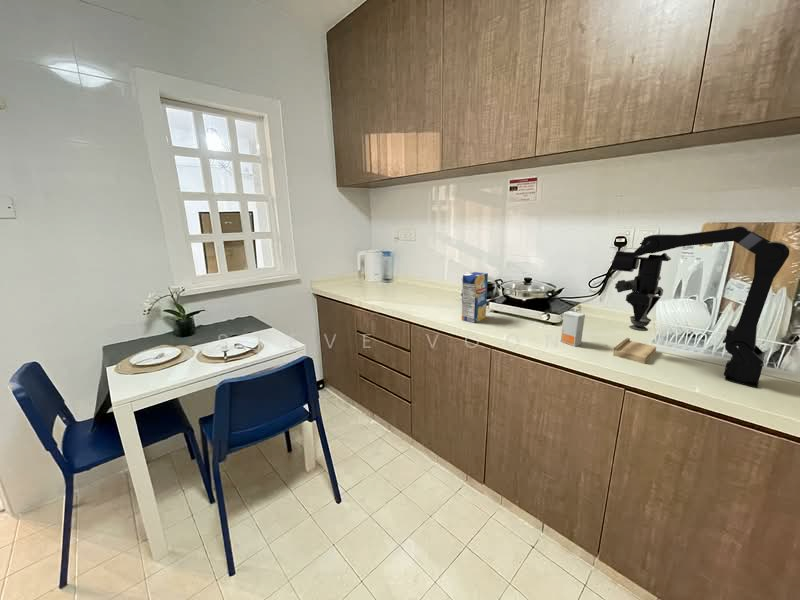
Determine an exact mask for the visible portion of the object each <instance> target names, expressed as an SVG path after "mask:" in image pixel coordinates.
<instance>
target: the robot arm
mask: <svg viewBox="0 0 800 600" xmlns="http://www.w3.org/2000/svg"><path fill="white" fill-rule="evenodd" d="M729 242H734V243H736V244H737V245H739V246H741V247H743V248H744V249H745V250H747V251H749V252H751V253H752V254H754V265H753V266H754V269H753V270H754V271H753V273H754V274H753V278H752V281H751V285H750V288H749V291H748V293H747V296H746V300H745V303H744V306H743V308H742V311H741V315H740V317H739V320H738V321H737V324H736V325H735V326H734V325H728V327H727V328H726V331H725V332H726V333H725V336H724V338H723V340H722V342H721V343H722V344H724V348H725V349H724V350H726V352H727V353H728V354H730V355H731V357H730V359H729V360H727V362H726V364H725V367H724V372H723V376H725V377H724V380H725V381H729V382H733V383H737V384H741V385H744V386H748V387H752V388H759V383H760V378H761V375H762V374H761V373H762V370H763V367H764V359H765V358H764V357H765V352H764V351H763V350H762V349H761V348H759V346H758V345H757V334H758V333H757V331H758V323H759V320H760V318H761V315H762V313H763V309H764V307H765V304H766V301H767V298H768V295H769V293H770V290H771V287H772V284H773V281H774V279H775V278H776V276H777V274H778V273H779V271H780V270H781V268H782V267H783V265H784V264H785V262H786V261H787V259H788V258H789V256H790V248H789V246H788V245H787V244H786V243H784V242H782V241H775V240H773V241H771V240H769V239H766V238H765V237H763V236H761V235H759V234H756V233H755V232H754V231H751V230H749V228H747V227H745V226H743V225H742V226H740V225H739V226H738V225H737V226H735V227H731V228H724V229H717V230H707V231H700V232H692V233H691V232H690V233H685V234H651V235H649V236H645V238H643V239H642V241H641V243H640V246H639V247H638V248H637V249H635V250H634V251H623V250H616V252H615V255H614V257H613V259H612V261H611V269H612V271H618V272H630V273H633V272H634V270H637V269H638V271H637V275H636V276H635V277H634V279H629V280H625V279H622V280H618V281H617V282H616V283H615V287H614V288H615V289H616V291H617V293H622V292H627V291H631V292H630V293H628V294H626V296H625V302H627V304H630V305H631V307H632V310H633V316H634V317H635V321H637V322H639V321H640V320H641V318H642V317H643V315H644V314H645V312H646V311H647V309H648V308H649V309H648V311H647V316H648V315H649V313H650V312H651V310H652V309H653V308H654V307H655V306H656V304H657V303H658V301H659V300H660V299H661V297H662V296H663V294H664V289H663V288H662V287H661V286H659V281H661V278H662V277H661V271H662V266H663V262H669V261H671V260H672V258H671V257H670V256H669V255H668V254H667V253H666V252H664V251H668V250H669V251H670V250H673V249H676V248H681V247H691V246H700V245H708V244H709V245H710V244H716V243H717V244H719V243H729ZM661 252H664V253H662V254H656V253H661ZM647 254H649V255H648V256H644V255H647Z"/></svg>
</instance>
